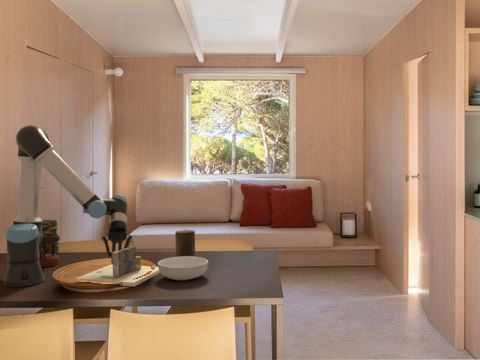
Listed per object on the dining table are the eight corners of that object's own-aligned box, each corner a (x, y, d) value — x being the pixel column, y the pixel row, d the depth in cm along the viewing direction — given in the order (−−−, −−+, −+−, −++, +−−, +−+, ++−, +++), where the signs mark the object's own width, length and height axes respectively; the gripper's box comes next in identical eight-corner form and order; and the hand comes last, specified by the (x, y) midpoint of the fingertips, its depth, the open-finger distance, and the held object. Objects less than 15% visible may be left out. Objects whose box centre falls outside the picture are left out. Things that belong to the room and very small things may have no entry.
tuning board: (134, 286, 177) (134, 282, 177) (75, 282, 185) (75, 278, 185) (164, 270, 202) (164, 266, 202) (111, 267, 210) (111, 263, 210)
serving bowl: (161, 286, 176) (160, 269, 176) (155, 274, 196) (155, 258, 196) (213, 281, 182) (213, 264, 182) (202, 269, 202) (202, 254, 202)
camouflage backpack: (61, 252, 246) (59, 218, 245) (52, 256, 238) (51, 220, 238) (44, 252, 248) (43, 218, 247) (36, 255, 240) (34, 220, 239)
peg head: (135, 267, 201) (134, 244, 200) (142, 268, 199) (142, 244, 199) (111, 277, 185) (110, 252, 184) (119, 277, 183) (118, 252, 183)
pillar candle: (190, 261, 220) (189, 230, 219) (172, 259, 223) (171, 229, 222) (198, 257, 229) (198, 227, 228) (181, 256, 232) (180, 226, 232)
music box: (45, 268, 210) (44, 225, 209) (27, 267, 214) (26, 224, 213) (69, 261, 224) (67, 221, 223) (52, 260, 228) (50, 220, 227)
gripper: (133, 229, 208) (132, 274, 192) (103, 230, 206) (100, 276, 190) (132, 219, 202) (131, 264, 187) (102, 220, 200) (98, 266, 185)
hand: (115, 270), depth 188 cm, fingers closed
